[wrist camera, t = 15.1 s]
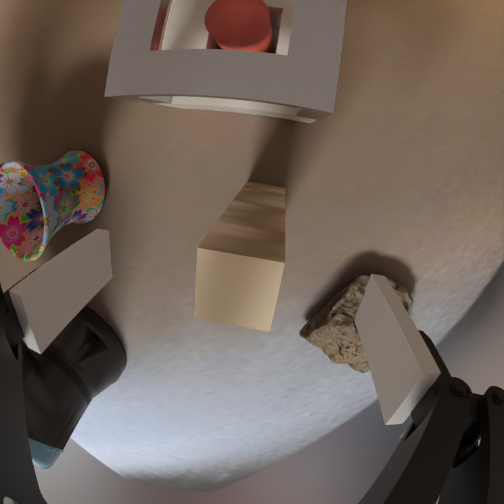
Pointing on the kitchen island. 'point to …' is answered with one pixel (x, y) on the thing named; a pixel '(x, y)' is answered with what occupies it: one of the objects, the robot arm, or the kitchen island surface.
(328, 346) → the rock
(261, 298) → the tall wooden block
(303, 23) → the frame
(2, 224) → the mug
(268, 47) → the red dome button
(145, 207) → the kitchen island surface
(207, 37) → the box
